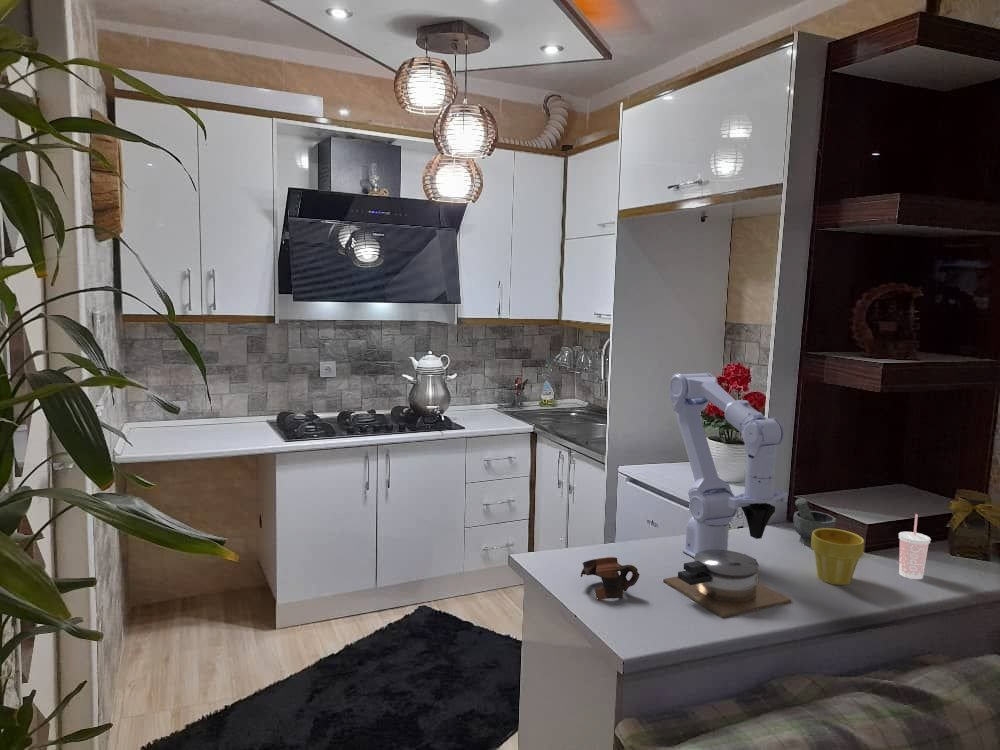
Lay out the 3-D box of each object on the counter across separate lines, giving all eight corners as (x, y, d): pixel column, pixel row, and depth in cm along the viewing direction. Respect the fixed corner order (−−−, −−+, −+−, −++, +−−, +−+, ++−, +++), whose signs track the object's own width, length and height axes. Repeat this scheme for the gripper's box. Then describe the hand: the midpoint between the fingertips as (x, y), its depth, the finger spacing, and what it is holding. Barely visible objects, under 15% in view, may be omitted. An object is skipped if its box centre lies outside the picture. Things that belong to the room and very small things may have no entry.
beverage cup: (893, 575, 156) (898, 514, 154) (897, 567, 161) (902, 508, 159) (925, 583, 152) (931, 520, 151) (928, 574, 157) (934, 513, 155)
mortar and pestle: (811, 534, 182) (814, 489, 180) (842, 546, 173) (846, 499, 172) (779, 540, 177) (782, 494, 176) (809, 553, 169) (813, 504, 167)
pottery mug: (582, 602, 141) (575, 561, 144) (589, 605, 149) (582, 565, 153) (641, 593, 138) (633, 551, 142) (645, 596, 147) (637, 556, 150)
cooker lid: (729, 550, 154) (730, 544, 154) (773, 571, 142) (774, 565, 142) (667, 560, 147) (667, 554, 147) (708, 583, 135) (709, 577, 135)
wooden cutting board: (655, 583, 150) (656, 558, 149) (728, 569, 158) (729, 546, 157) (713, 619, 133) (715, 592, 133) (791, 602, 142) (793, 576, 141)
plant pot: (867, 591, 148) (871, 546, 146) (814, 586, 150) (818, 542, 148) (853, 572, 158) (856, 530, 156) (803, 567, 160) (807, 526, 158)
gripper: (746, 483, 142) (742, 547, 144) (800, 476, 148) (795, 539, 150) (722, 474, 149) (719, 536, 150) (775, 468, 154) (771, 528, 156)
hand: (755, 537), depth 150 cm, fingers closed
